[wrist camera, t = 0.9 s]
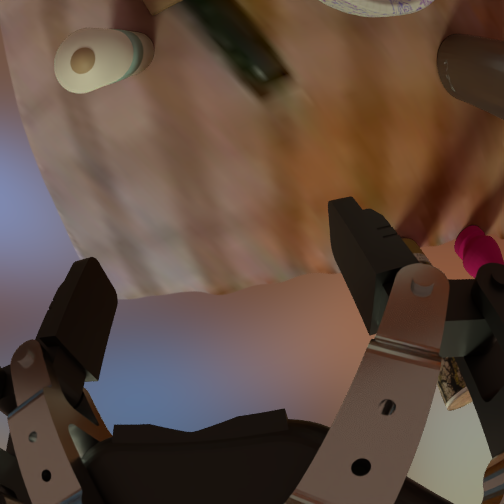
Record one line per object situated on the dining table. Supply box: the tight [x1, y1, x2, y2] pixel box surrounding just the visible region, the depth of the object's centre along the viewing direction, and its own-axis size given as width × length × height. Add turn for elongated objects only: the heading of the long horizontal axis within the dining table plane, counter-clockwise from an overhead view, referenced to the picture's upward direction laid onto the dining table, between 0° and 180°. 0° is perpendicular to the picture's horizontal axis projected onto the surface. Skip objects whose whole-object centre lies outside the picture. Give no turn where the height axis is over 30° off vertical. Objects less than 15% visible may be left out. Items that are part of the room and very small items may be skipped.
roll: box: [54, 28, 154, 93], centre depth 21 cm, size 5×5×12 cm
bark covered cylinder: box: [401, 238, 472, 411], centre depth 34 cm, size 7×7×25 cm
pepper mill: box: [454, 225, 504, 278], centre depth 36 cm, size 7×7×20 cm
